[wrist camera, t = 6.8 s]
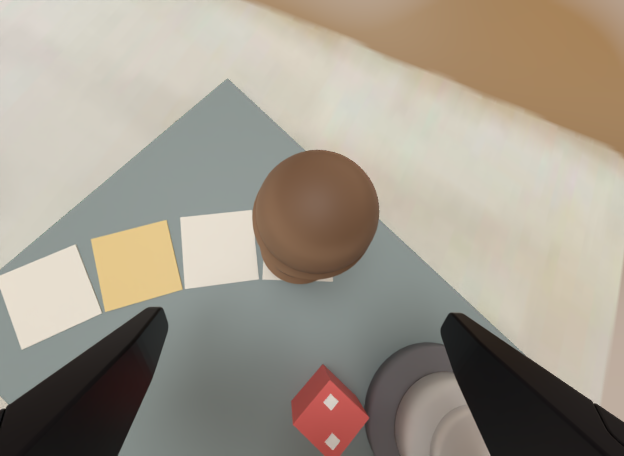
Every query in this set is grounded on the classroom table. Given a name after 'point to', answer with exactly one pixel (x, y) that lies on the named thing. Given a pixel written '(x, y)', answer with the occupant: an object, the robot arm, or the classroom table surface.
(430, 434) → the pop dome
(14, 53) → the classroom table surface
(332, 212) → the walnut pawn
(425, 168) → the classroom table surface
